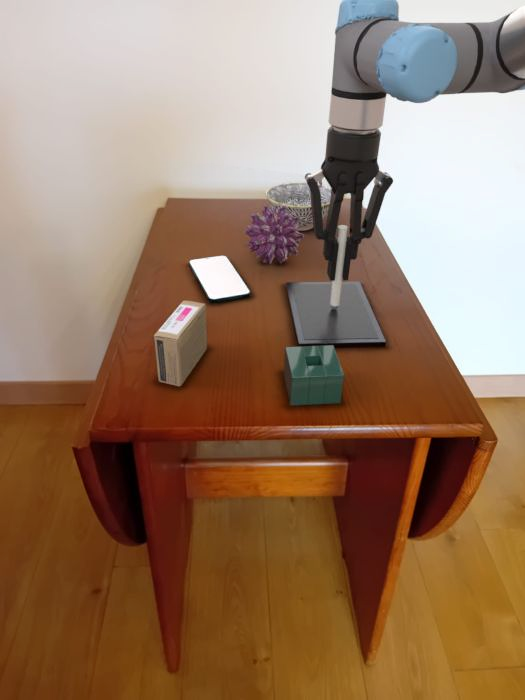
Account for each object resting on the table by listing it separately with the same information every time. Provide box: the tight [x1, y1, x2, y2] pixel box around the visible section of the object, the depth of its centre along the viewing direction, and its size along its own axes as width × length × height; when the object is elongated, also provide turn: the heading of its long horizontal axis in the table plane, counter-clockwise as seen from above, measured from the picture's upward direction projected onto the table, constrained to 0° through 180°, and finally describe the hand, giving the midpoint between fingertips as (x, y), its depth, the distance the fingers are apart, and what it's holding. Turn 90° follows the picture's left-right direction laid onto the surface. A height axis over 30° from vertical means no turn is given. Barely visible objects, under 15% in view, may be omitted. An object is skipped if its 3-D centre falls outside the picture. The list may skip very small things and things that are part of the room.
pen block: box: [283, 345, 345, 407], centre depth 76 cm, size 7×7×5 cm
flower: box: [244, 204, 305, 264], centre depth 107 cm, size 12×12×12 cm
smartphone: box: [188, 255, 251, 304], centre depth 102 cm, size 8×1×16 cm
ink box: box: [153, 300, 208, 388], centre depth 79 cm, size 10×4×8 cm, turn 162°
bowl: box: [265, 181, 331, 232], centre depth 123 cm, size 16×16×8 cm
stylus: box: [330, 224, 349, 310], centre depth 89 cm, size 2×2×15 cm
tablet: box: [285, 281, 387, 349], centre depth 93 cm, size 20×14×1 cm
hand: (337, 276), depth 90 cm, fingers closed on stylus, 1 cm apart
